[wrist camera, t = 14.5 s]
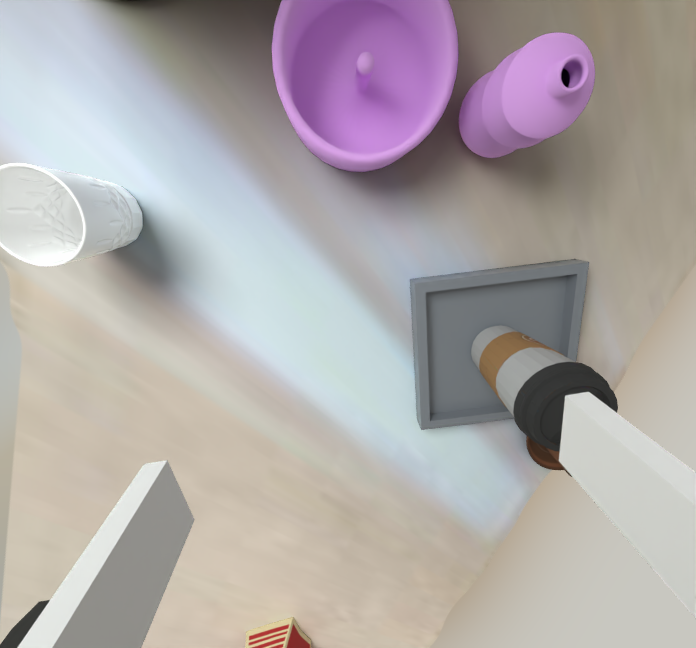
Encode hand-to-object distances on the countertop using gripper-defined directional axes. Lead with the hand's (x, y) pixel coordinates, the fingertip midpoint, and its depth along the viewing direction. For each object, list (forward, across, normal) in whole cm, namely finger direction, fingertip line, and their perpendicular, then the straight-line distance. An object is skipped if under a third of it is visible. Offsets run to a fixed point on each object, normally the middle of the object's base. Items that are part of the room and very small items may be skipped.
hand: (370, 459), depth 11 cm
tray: (+30, +18, -13) cm, 37 cm away
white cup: (+30, -24, +10) cm, 40 cm away
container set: (+31, +9, +16) cm, 36 cm away
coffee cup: (+29, +18, -13) cm, 36 cm away
